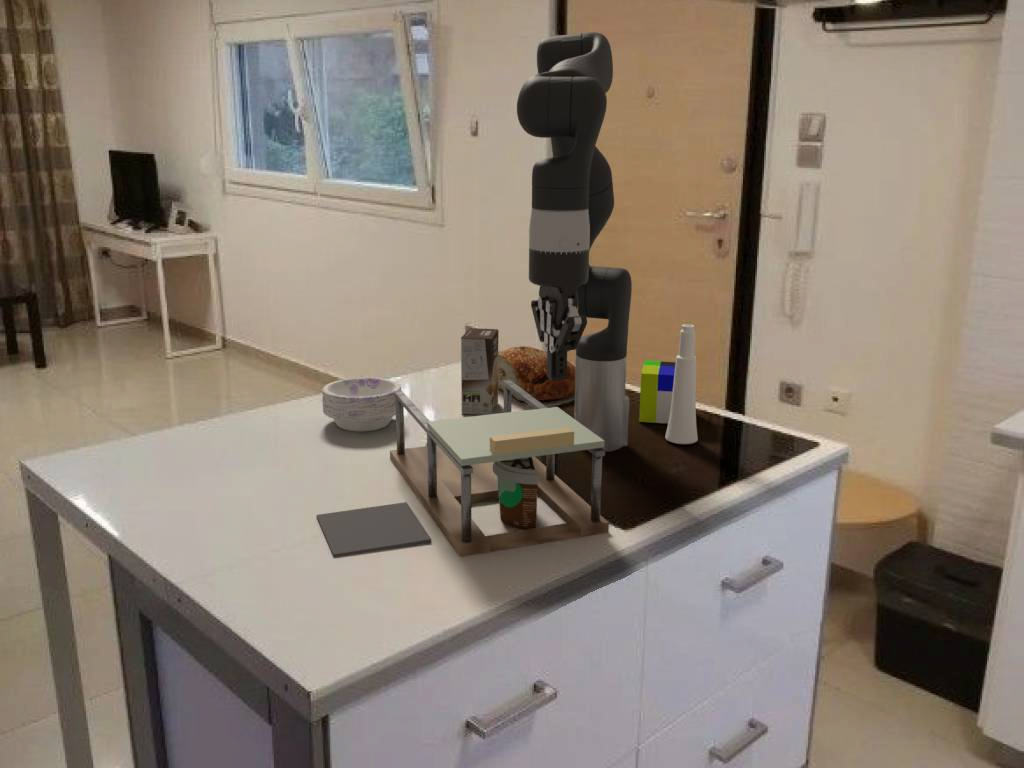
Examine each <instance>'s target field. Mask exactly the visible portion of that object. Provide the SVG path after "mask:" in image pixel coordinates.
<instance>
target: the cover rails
mask: <svg viewBox="0 0 1024 768" xmlns="http://www.w3.org/2000/svg"><path fill="white" fill-rule="evenodd" d="M502 385H503V386H504V391H503V413H508V412H512V397H513V396H512V393H514V394H515V395H516V396H518V397H519V398H520V399H522V400H523V401H522V402H524V403H525V404H527V405H528V406H529V407H531V408H532V410H534V409H543V408H548V407H547V406H546V405H544V404H543V403H542V402H541V401H540V400H536V399H535V398H534V397H532V396H531V395H529V394H528V393H527V392H525V391H524V390H523V389H521V388H520V387H519V386H517V385H516V384H515V383H513V382H512V381H511V380H502ZM394 396H395V408H396V415H395V434H396V439H395V440H396V450H397V454H398V455H403V454H405V449H406V444H405V440H406V439H405V412H404V411H407V412H408V413H409V415H410V416H411V417H412V418H413V419H414V420H415V422H416V423H417V424H418V425H419V426H420V427H421V428H422V429H423V431H424V432H425V433H426V444H427V445H426V446H427V459H428V496H429V497H437V456H436V445H438V447H439V448H440V449H441V450H442V451H443V452H444V453H445V454H446V456H447V457H448V458H449V459H450V460H451V461H452V462H453V464H454V465H455V466H456V467H457V468H458V469H459V470H460V472H461V529H462V542H464V543H469V542H471V541H472V529H471V518H472V503H471V474H473V467H472V466H471V465H466V466H461V465H460V464H459V463H458V462H457V461H456V459H455V458H454V457H453V456H452V455H451V454H450V453H449V452H448V451H447V449H446V448H445V447H444V446H443V445H442V444H441V443H440V442H439V440H438V439H437V438H436V437H435V436H434V435H433V434H432V433H431V431H430V430H429V429H428V428H427V422H428V421H430V420H429V419H428V417H427V416H426V415H425V414H424V413H423V412H422V411H421V410H420V409H419V408H418V407H417V405H415V403H414V402H413V401H412V400H411V399H410V398H409V397H408V396H407V395H406V393H405V392H404V391H403V390H402V389H401V391H394ZM404 409H405V410H404ZM587 451H588V452H589V453H591V454H592V458H591V459H592V461H591V462H592V463H591V464H592V467H591V468H592V469H591V490H590V491H591V492H590V494H591V495H590V496H591V497H590V506H591V521H592V522H599V521H600V515H601V502H602V500H601V499H602V475H603V474H602V473H603V471H602V470H603V457H605V455H606V451H605V450H604V449H602V448H596V449H588V450H587ZM545 456H546V457H545V458H546V459H545V460H546V461H545V466H546V480H548V481H552V480H554V479H555V475H556V474H555V472H556V471H555V470H556V468H555V467H556V454H550V455H545Z"/></svg>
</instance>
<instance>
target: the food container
mask: <svg viewBox="0 0 1024 768" xmlns="http://www.w3.org/2000/svg"><path fill="white" fill-rule="evenodd" d="M493 472H494V473H495V475H497V479H498V493H499V499H498V505H499V515H500V517H499V519H500V521H501V523H503V524H504V525H505V526H507V527H510V528H512V529H515V530H519V531H520V530H526V529H533V528H537V518H538V517H537V513H538V511H537V510H538V494H537V484H538V470H535V468H534V464H533V459H532V457H527V458H520V459H512V460H504V461H497V462H494V464H493Z"/></svg>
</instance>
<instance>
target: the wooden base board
mask: <svg viewBox="0 0 1024 768" xmlns="http://www.w3.org/2000/svg"><path fill="white" fill-rule="evenodd" d="M436 456H437V497H429V496H428V459H427V445H425V446H417V447H409V448H408V447H407V448H405V454H403V455H398V454H397V449H393V450H389V458H390V460H391V461H392V463H393V464H394V466H395V467H396V468H397V470H398V472H399V473H400V474H401V476H402V477H403V479H404V480H405V481H406V482H407V484H408V486H409V488H411V490H412V491H413V492H414V494H415V496H416V497H417V498H418V500H419V501H420V503H421V504H422V506H423V507H424V508H425V510H426V511H427V512H428V514H429V515H430V517H431V518H432V519H433V521H434V522H435V524H436V525H437V527H438V528H439V530H440V531H441V532H442V533H443V535H444V536H445V538H446V539H447V541H448V542H449V544H450V546H452V548H453V549H454V550H455V552H456V554H457V555H458V556H459V557H461V558H462V557H466V556H471V555H478V554H484V553H490V552H495V551H496V552H497V551H501V550H508V549H514V548H519V547H521V548H522V547H525V546H526V547H527V546H533V545H538V544H544V543H550V542H556V541H563V540H568V539H573V538H580V537H581V538H582V537H586V536H591V535H598V534H604V533H605V534H606V533H609V530H610V529H609V528H610V522H609V521H608V520H607V519H606V518H604V517H603V516H602V515H601V514H600V521H599V522H592V521H591V504H589V503H588V502H586V501H585V500H584V499H583V497H581V496H579V495H578V493H576V492H575V490H573V489H572V488H571V487H569V486H568V485H567V484H566V482H564V481H563V480H562V479H561V478H559V476H557V475H556V474H555V479H554V480H552V481H548V480H546V464H544V463H542V462H541V460H539V459H538V458H537V456H535V457H532V459H533V464H534V468H535V470H538V484H537V496H539V498H541V499H542V500H543V501H544V502H545V503H546V504H547V505H548V506H549V507H550V508H551V509H552V510H553V511H554V512H555V513H556V514H557V515H558V516H559V517H560V518H561V519H562V520H563V521H564V522H565V523H560V524H559V523H557V524H553V525H545V526H541V527H536V528H533V529H526V530H520V529H519V530H514V531H509V532H503V533H501V532H500V533H496V534H491V535H485V532H483V531H482V529H480V527H479V526H478V525H477V524H476V522H475V521H474V520H473V519H472V517H471V529H472V541H471V542H469V543H464V542H462V529H461V472H460V470H459V469H458V468H457V467H456V466H455V465H454V464H453V462H452V461H451V460H450V459H449V458H448V457H447V456H446V454H445V453H444V452H443V451H442V450H441V449H440V448H439V447H438V445H437V444H436ZM493 464H494V462H489V463H482V464H474V465H471V466H472V467H473V474H471V504H474V503H480V502H487V501H488V502H489V501H492V500H493V501H495V500H499V493H498V479H497V475H495V473H494V472H493Z"/></svg>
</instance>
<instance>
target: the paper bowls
mask: <svg viewBox="0 0 1024 768" xmlns="http://www.w3.org/2000/svg"><path fill="white" fill-rule="evenodd" d="M401 390H402V387H401V385H400V383H398V382H396V381H394V380H391V379H386V378H381V377H380V378H379V377H354V378H353V377H352V378H346V379H340V380H335V381H332V382H330V383H327V384H326V385H324V386H323V387H322V391H321V393H322V400H321V401H322V413H323V414H324V415H325V416H326V417H328V418H331V419H333V421H334V422H335V425H336V426H337V427H339V429H342V430H345V431H348V432H357V433H359V432H360V433H362V432H365V433H366V432H373V431H378V430H381V429H383V428H385V427H387V426H388V425H389V424H390V422H391V420H392V419H393V417H394V416H396V408H395V396H394V391H401Z"/></svg>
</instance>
